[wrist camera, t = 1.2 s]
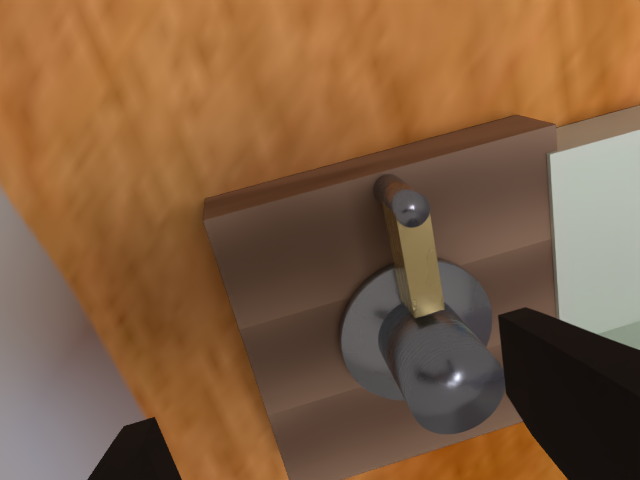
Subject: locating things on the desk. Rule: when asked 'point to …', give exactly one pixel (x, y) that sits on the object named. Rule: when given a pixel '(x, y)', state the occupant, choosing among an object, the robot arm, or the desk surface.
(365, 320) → the pin
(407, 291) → the lever
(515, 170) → the socket block
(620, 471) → the robot arm
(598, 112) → the desk surface
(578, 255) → the tray
